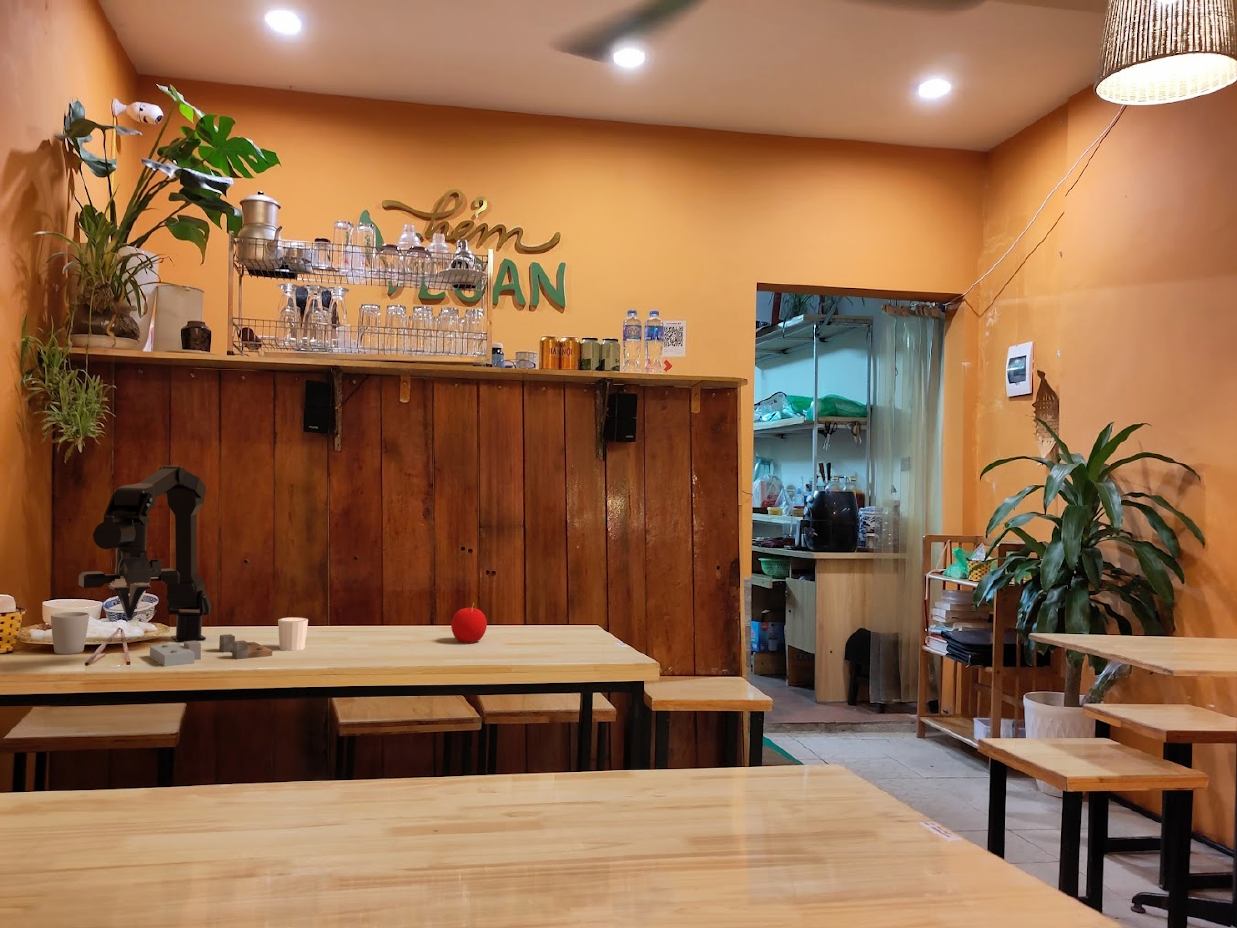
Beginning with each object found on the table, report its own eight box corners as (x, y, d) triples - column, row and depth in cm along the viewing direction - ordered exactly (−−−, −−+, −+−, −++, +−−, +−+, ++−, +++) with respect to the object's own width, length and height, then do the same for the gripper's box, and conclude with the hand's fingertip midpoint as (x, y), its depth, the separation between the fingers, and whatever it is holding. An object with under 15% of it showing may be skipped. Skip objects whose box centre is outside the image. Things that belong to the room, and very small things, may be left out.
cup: (45, 655, 208) (46, 617, 208) (56, 647, 218) (58, 610, 218) (84, 654, 211) (85, 616, 211) (93, 646, 220) (95, 609, 220)
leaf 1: (164, 667, 202) (165, 650, 202) (149, 657, 211) (150, 641, 211) (206, 662, 208) (206, 646, 208) (189, 652, 217) (190, 637, 217)
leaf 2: (236, 659, 212) (237, 643, 212) (219, 650, 221) (219, 635, 221) (272, 655, 217) (272, 640, 217) (253, 646, 226) (254, 632, 226)
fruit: (483, 645, 238) (484, 605, 238) (447, 644, 238) (449, 604, 238) (488, 638, 247) (490, 600, 247) (454, 637, 247) (455, 599, 247)
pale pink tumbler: (311, 646, 229) (313, 617, 229) (299, 651, 222) (300, 622, 222) (284, 645, 230) (285, 616, 230) (271, 650, 223) (272, 620, 223)
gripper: (90, 550, 191) (88, 627, 191) (188, 547, 203) (185, 620, 203) (79, 545, 199) (76, 619, 199) (173, 543, 211) (171, 612, 211)
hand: (128, 618), depth 203 cm, fingers closed
